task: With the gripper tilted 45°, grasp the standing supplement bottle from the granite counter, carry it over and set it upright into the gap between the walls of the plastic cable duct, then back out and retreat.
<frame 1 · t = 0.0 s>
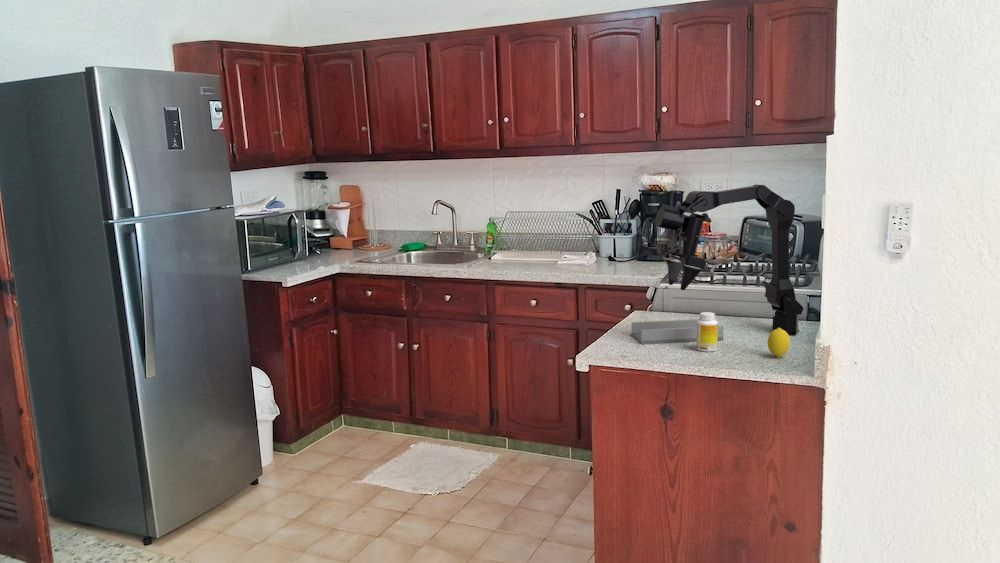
hand: (676, 287, 226), 15 cm above the countertop, tool pointing down, fingers open, 9 cm apart
supplement bottle: (706, 350, 216), on the countertop
cable duct: (676, 337, 231), on the countertop
lemon: (778, 358, 207), on the countertop
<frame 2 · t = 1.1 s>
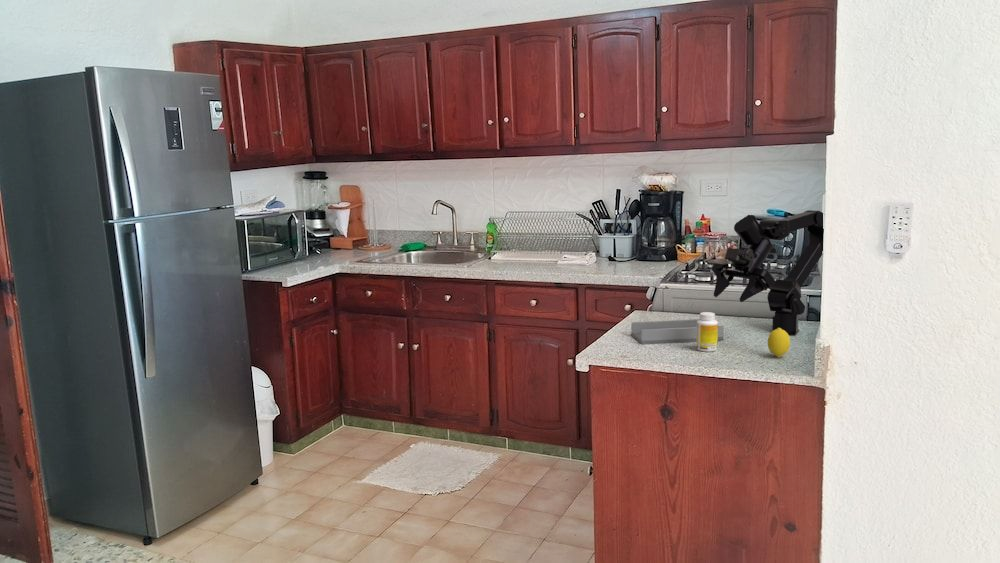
hand: (727, 298, 218), 13 cm above the countertop, tool tilted 45°, fingers open, 9 cm apart
nothing on the countertop moved.
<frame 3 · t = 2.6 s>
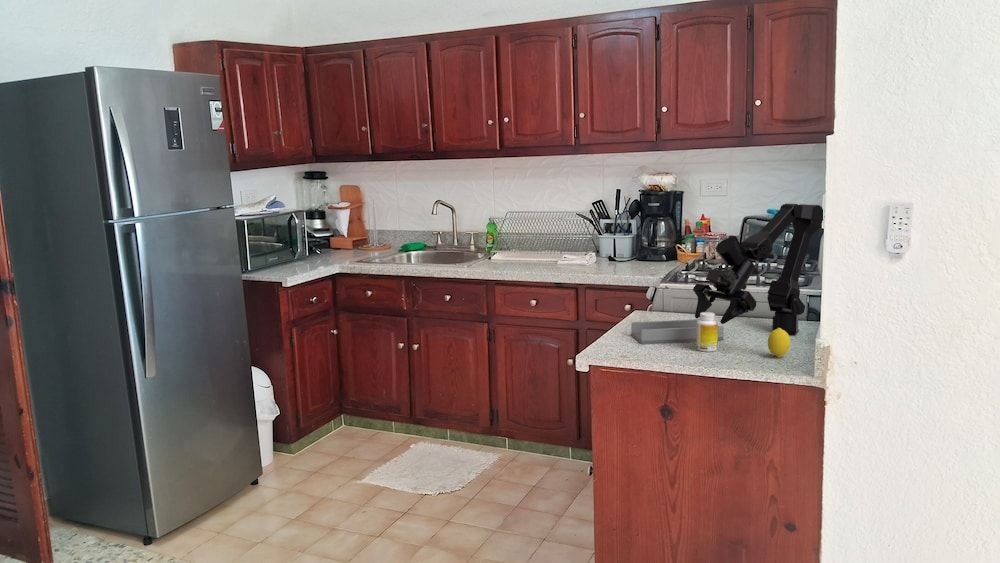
hand: (708, 320, 215), 8 cm above the countertop, tool tilted 45°, fingers open, 9 cm apart
nothing on the countertop moved.
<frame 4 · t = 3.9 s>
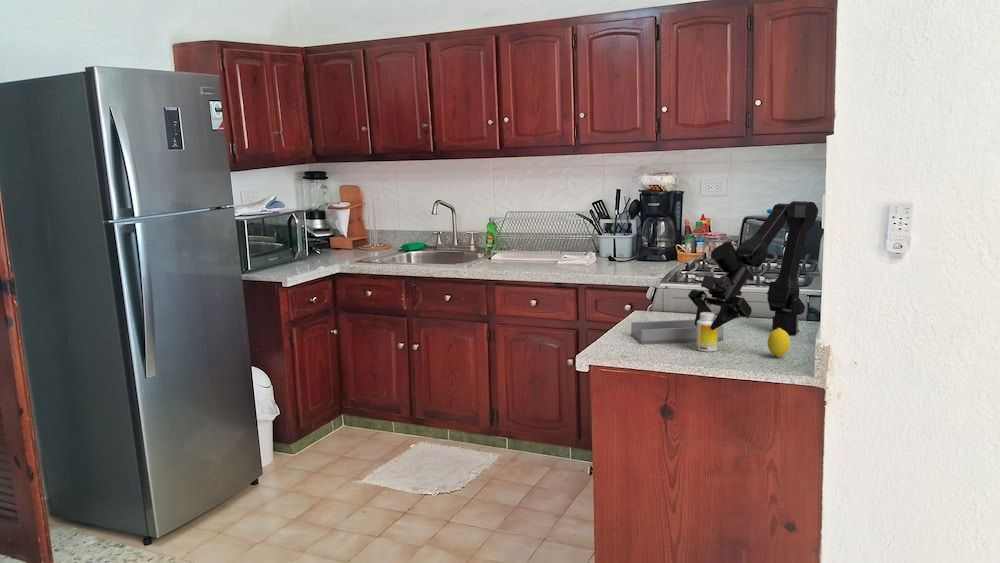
hand: (703, 327, 214), 7 cm above the countertop, tool tilted 45°, fingers closed on supplement bottle, 5 cm apart
supplement bottle: (706, 350, 216), on the countertop, touching gripper
everything else where it was.
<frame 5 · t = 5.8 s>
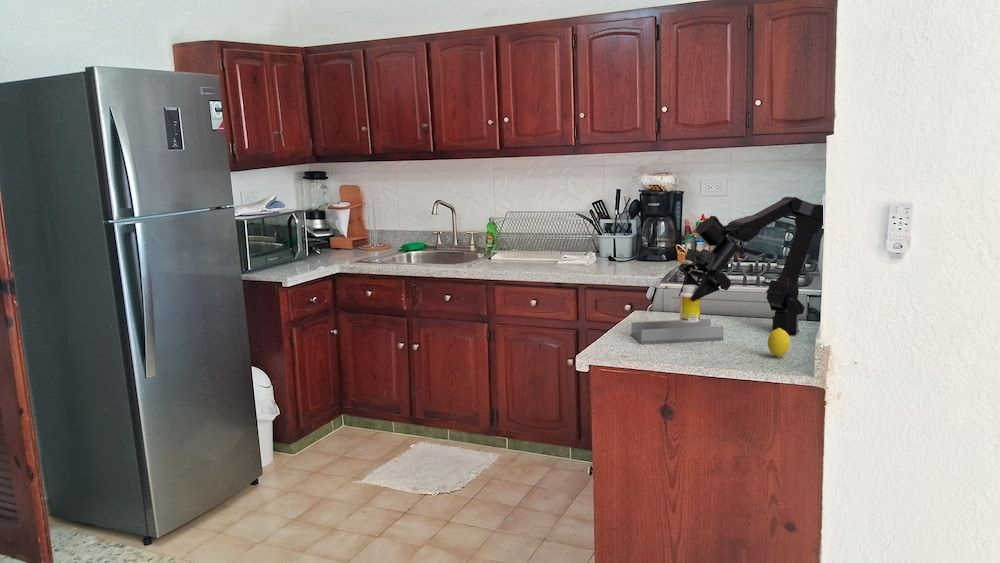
hand: (685, 298, 220), 13 cm above the countertop, tool tilted 45°, fingers closed on supplement bottle, 5 cm apart
supplement bottle: (689, 322, 222), point 6 cm above the countertop, touching gripper
everything else where it was.
when the fingers open (9 cm above the countertop, at t = 7.9 s): supplement bottle drops 1 cm, resting on cable duct.
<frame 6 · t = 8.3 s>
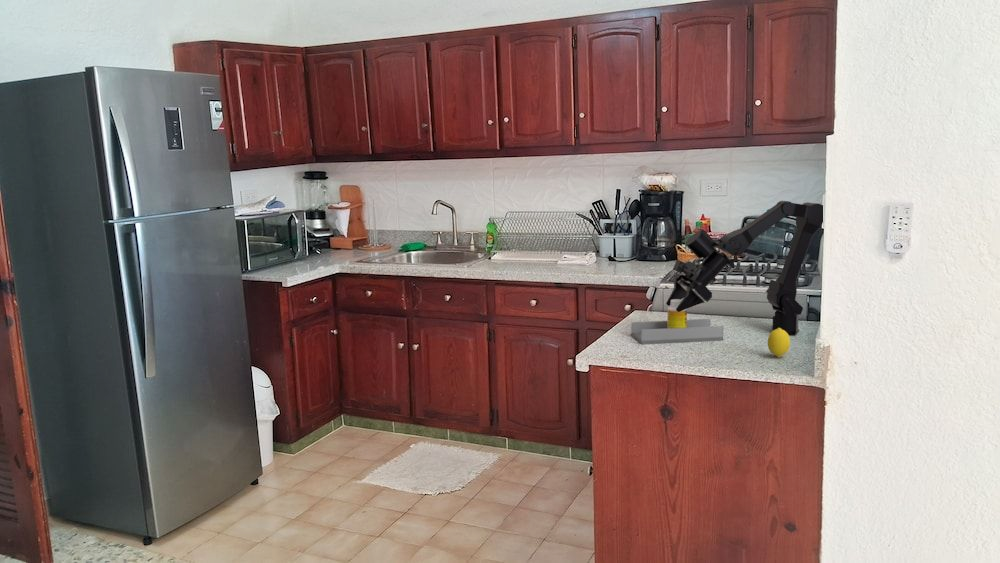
hand: (672, 307, 229), 9 cm above the countertop, tool tilted 45°, fingers open, 9 cm apart
supplement bottle: (677, 335, 231), point 1 cm above the countertop, touching cable duct
everything else where it was.
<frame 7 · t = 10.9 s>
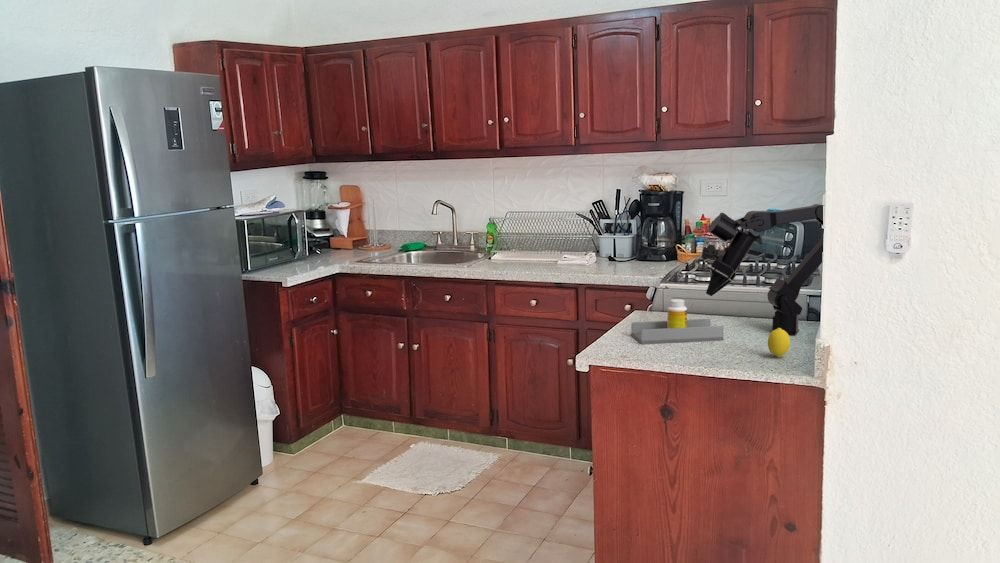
hand: (708, 294, 232), 12 cm above the countertop, tool tilted 30°, fingers open, 9 cm apart
nothing on the countertop moved.
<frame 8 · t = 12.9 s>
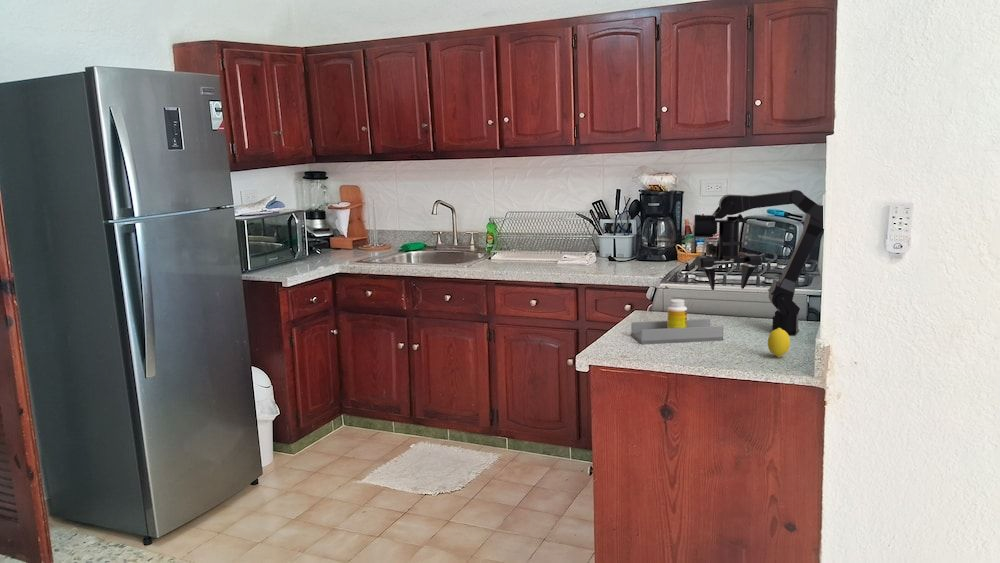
hand: (727, 289, 235), 13 cm above the countertop, tool pointing down, fingers open, 9 cm apart
nothing on the countertop moved.
at the end: supplement bottle 0.2 cm off-centre on the cable duct, point 0.8 cm above the cable duct's base; supplement bottle tilted 0°; the gripper is holding nothing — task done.
